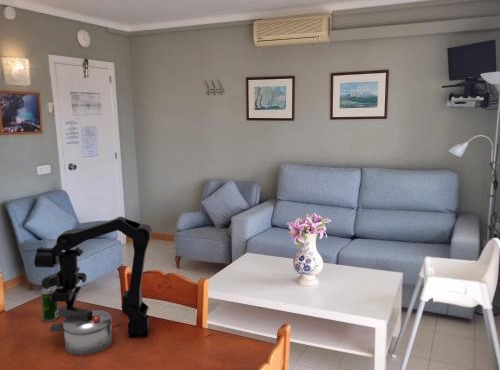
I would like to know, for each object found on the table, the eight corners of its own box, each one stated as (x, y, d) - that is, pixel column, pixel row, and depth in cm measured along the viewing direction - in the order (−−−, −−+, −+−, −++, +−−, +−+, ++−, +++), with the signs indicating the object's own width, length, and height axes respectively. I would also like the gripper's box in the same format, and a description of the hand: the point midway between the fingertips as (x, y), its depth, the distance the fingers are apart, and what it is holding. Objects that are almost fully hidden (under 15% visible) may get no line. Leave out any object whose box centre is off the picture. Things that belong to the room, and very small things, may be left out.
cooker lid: (121, 317, 154) (120, 305, 153) (91, 337, 139) (90, 325, 139) (77, 309, 160) (76, 298, 159) (44, 328, 145) (43, 316, 145)
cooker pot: (116, 332, 158) (115, 313, 157) (105, 354, 143) (104, 334, 142) (60, 333, 157) (59, 315, 156) (44, 356, 142) (42, 335, 141)
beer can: (60, 315, 172) (58, 286, 170) (55, 321, 166) (53, 291, 164) (46, 315, 171) (44, 286, 169) (40, 322, 166) (38, 291, 164)
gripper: (55, 257, 160) (57, 297, 163) (32, 277, 142) (35, 322, 145) (86, 258, 161) (87, 298, 164) (67, 277, 142) (69, 322, 145)
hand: (70, 309), depth 154 cm, fingers closed
